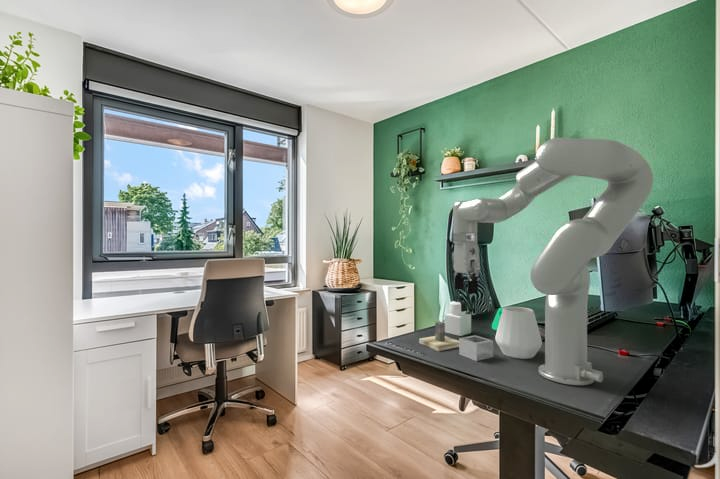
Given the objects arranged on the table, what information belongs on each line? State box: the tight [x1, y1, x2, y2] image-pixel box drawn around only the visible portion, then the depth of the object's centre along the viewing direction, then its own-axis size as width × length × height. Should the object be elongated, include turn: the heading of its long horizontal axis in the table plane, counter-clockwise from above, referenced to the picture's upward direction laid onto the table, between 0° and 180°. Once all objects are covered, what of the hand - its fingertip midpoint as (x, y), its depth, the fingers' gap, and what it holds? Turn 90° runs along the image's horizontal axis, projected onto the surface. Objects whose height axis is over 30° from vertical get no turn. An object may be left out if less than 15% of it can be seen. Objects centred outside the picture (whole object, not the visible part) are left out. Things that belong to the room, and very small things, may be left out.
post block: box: [418, 321, 459, 352], centre depth 120 cm, size 10×10×8 cm
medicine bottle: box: [444, 300, 472, 337], centre depth 135 cm, size 7×7×12 cm
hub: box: [458, 335, 494, 362], centre depth 109 cm, size 7×7×5 cm
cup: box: [494, 306, 543, 360], centre depth 111 cm, size 13×13×14 cm
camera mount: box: [491, 307, 504, 331], centre depth 133 cm, size 12×8×10 cm, turn 12°
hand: (465, 291), depth 116 cm, fingers open, 9 cm apart
